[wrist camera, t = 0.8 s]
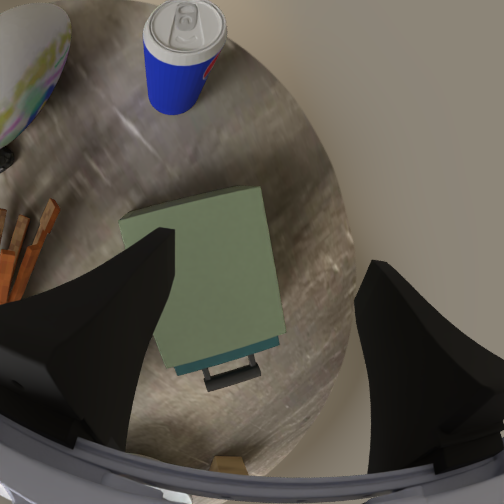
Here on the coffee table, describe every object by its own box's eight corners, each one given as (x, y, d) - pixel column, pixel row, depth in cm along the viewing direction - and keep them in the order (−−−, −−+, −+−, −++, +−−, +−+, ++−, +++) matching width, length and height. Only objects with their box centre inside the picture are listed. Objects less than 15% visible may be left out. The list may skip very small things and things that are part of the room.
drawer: (267, 352, 36) (285, 378, 31) (184, 377, 34) (190, 408, 28) (239, 213, 31) (256, 219, 26) (139, 238, 29) (135, 251, 24)
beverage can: (198, 115, 29) (232, 60, 15) (148, 118, 28) (139, 62, 14) (198, 70, 28) (230, -7, 14) (148, 72, 26) (145, -7, 12)
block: (233, 472, 41) (241, 493, 36) (207, 471, 39) (214, 494, 35) (241, 456, 40) (250, 478, 36) (214, 455, 39) (221, 479, 34)
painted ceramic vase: (7, 179, 18) (121, 42, 20) (-91, 100, 7) (49, -46, 10) (-5, 156, 24) (76, 56, 26) (-71, 101, 13) (21, -5, 16)
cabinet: (261, 304, 35) (286, 332, 28) (163, 332, 33) (166, 368, 26) (237, 185, 32) (260, 186, 25) (128, 212, 29) (117, 220, 22)
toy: (69, 187, 27) (51, 397, 33) (-19, 167, 21) (-15, 382, 28) (51, 211, 19) (50, 450, 25) (-62, 184, 13) (-27, 432, 20)
